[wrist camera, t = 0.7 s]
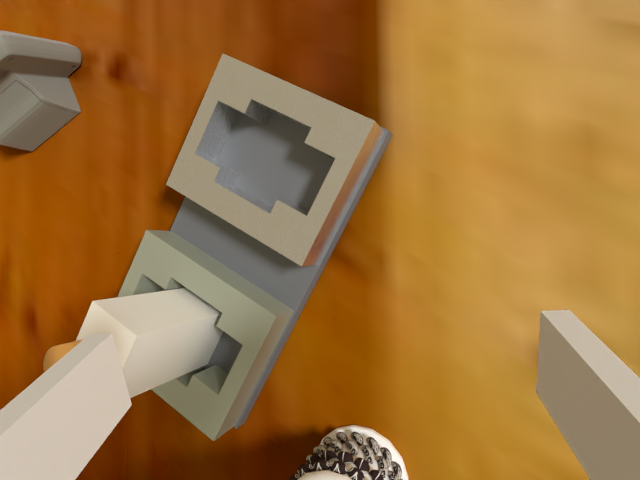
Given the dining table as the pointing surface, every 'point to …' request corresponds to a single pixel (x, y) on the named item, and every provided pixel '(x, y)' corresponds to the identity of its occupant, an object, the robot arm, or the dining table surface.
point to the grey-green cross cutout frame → (236, 320)
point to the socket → (325, 136)
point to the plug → (152, 335)
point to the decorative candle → (353, 457)
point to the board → (269, 186)
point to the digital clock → (35, 89)
